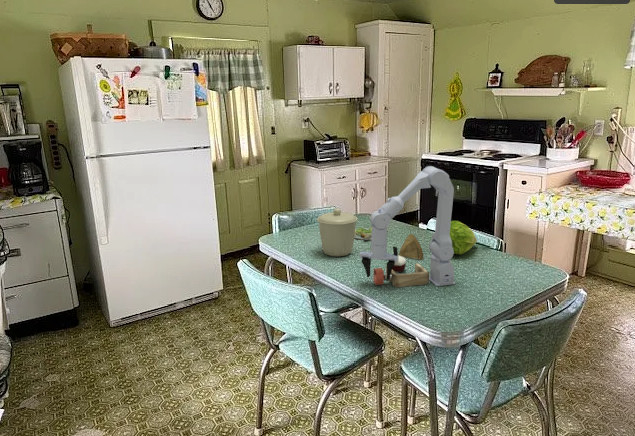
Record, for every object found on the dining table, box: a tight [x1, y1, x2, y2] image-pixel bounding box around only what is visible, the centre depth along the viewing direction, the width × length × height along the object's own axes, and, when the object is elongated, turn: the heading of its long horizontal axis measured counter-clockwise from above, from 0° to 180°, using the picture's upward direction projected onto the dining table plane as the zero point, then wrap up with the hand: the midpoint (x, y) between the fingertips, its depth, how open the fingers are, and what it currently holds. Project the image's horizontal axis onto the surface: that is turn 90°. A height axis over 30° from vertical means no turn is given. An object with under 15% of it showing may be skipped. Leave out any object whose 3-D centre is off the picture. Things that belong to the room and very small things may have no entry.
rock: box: [398, 233, 424, 261], centre depth 201 cm, size 11×9×10 cm
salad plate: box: [354, 226, 389, 241], centre depth 233 cm, size 19×18×5 cm
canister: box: [316, 208, 358, 257], centre depth 207 cm, size 18×18×21 cm
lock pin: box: [372, 267, 403, 286], centre depth 174 cm, size 3×11×5 cm, turn 102°
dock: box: [385, 263, 430, 288], centre depth 177 cm, size 10×13×4 cm
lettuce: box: [450, 220, 478, 255], centre depth 206 cm, size 15×25×16 cm
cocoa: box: [392, 246, 407, 273], centre depth 185 cm, size 10×6×12 cm, turn 132°
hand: (378, 277), depth 173 cm, fingers open, 7 cm apart
